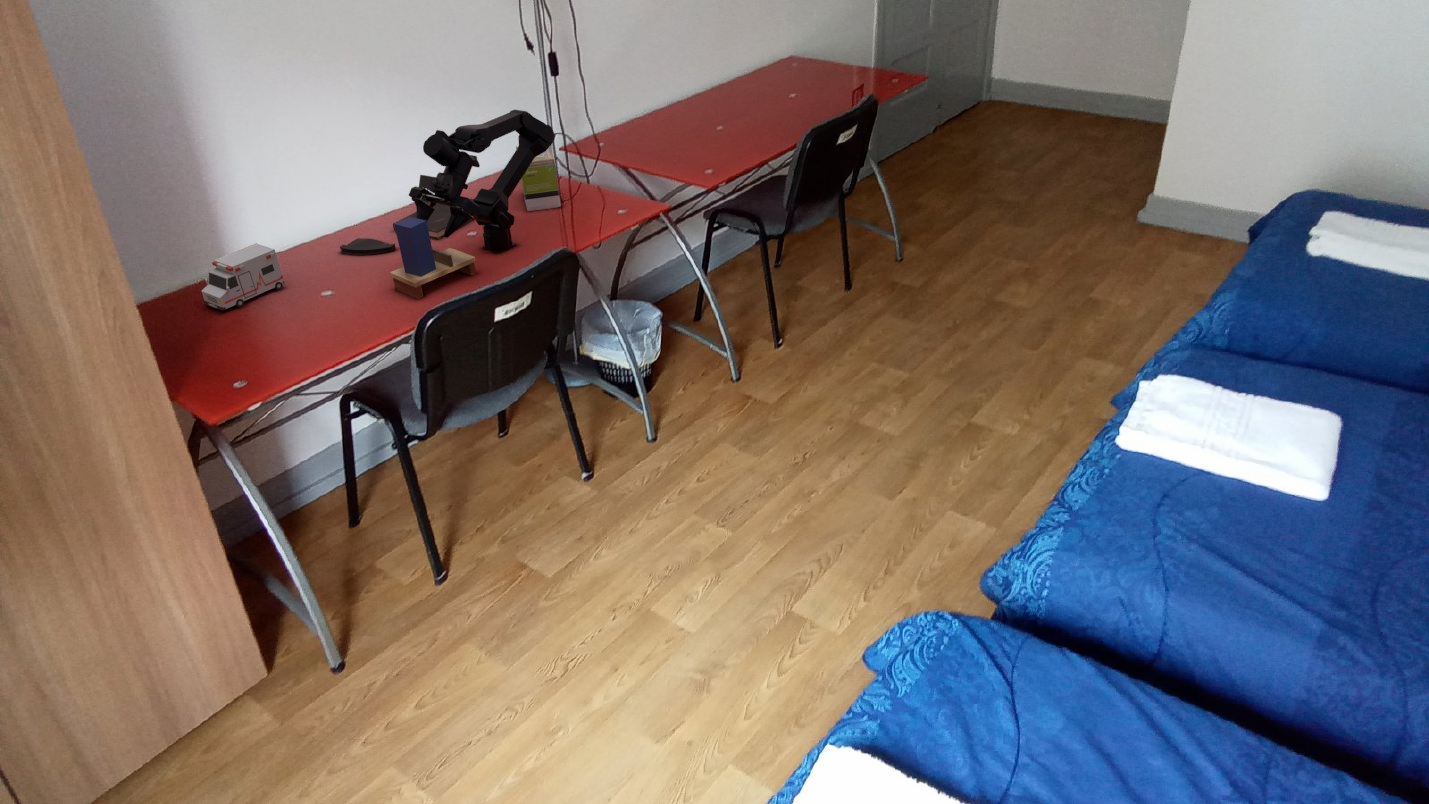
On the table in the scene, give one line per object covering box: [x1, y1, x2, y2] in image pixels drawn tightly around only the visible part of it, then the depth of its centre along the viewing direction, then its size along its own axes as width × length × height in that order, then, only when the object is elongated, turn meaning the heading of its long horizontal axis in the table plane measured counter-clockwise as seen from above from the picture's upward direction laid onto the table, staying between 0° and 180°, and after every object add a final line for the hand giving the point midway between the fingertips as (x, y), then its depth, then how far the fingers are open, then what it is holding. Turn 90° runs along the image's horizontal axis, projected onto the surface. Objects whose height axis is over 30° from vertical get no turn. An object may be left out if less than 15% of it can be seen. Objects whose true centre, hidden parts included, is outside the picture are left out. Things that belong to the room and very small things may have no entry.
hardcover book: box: [392, 198, 475, 240], centre depth 278 cm, size 16×23×2 cm
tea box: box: [515, 145, 562, 212], centre depth 284 cm, size 15×10×15 cm, turn 14°
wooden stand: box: [389, 247, 477, 300], centre depth 242 cm, size 18×10×8 cm, turn 140°
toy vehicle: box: [201, 242, 285, 311], centre depth 238 cm, size 10×17×10 cm, turn 146°
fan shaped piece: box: [339, 237, 397, 256], centre depth 262 cm, size 8×14×2 cm, turn 70°
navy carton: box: [394, 217, 436, 277], centre depth 236 cm, size 5×6×12 cm
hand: (431, 233), depth 239 cm, fingers open, 9 cm apart
